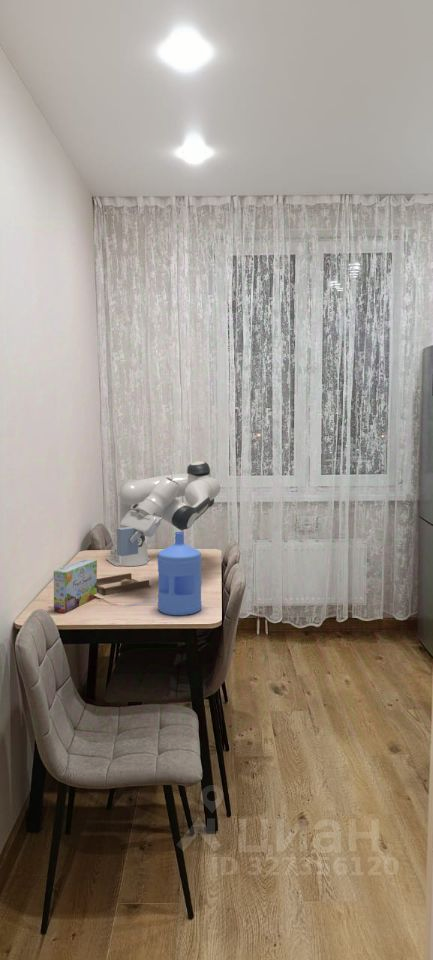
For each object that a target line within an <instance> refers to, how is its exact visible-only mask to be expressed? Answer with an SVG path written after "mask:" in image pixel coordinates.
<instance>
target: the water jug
mask: <svg viewBox="0 0 433 960" xmlns="http://www.w3.org/2000/svg"><path fill="white" fill-rule="evenodd" d="M174 534H175V537H174V540H175V541H174V544H171V545H169V546H168V547H166V548H163V549H162V550H160V551H159V552H158V554H157V572H158V591H157V595H158V601H157V609H158V610H159V612H161V613H162V614H164V615H169V616H187V615H188V614H190V615H192V614H193V613H194V614H197V612H200V610H201V609H202V553H201V551H200V550H198V549H196V548H194V547H192V546H190V545H187V544H185V541H184V540H185V539H184V538H185V537H184V535H185V532H182V531H176V532H174Z"/></svg>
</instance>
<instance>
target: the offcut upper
mask: <svg viewBox="0 0 433 960" xmlns="http://www.w3.org/2000/svg"><path fill="white" fill-rule="evenodd" d="M135 580H136V579H135ZM135 580H129V579H124V580H122V581H121V582H120V584H121V585H124V584H130V583H135V582H137V581H138V580H137V581H135Z"/></svg>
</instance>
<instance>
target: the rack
mask: <svg viewBox="0 0 433 960" xmlns="http://www.w3.org/2000/svg"><path fill="white" fill-rule="evenodd" d="M124 579H129V580H135V581H137V582H135V583H130V584H124V585H114V586H109V587H104V586H105V585H110V584H116V583H121V581H122V580H124ZM150 587H152V586H151V585H150V580H149V579H147V580H141V581H139V580H137V579H135V578H132V573H131V572H128V573H123V574H117V575H112V576H111V575H110V576H107V577H100V578H97V594H99V595H102V596H110V595H114V594H119V593H124V592H129V591H130V592H131V591H135V590H140V589H141V590H142V589H145V588H150ZM101 599H102V600H104V598H101Z"/></svg>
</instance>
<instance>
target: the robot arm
mask: <svg viewBox="0 0 433 960" xmlns="http://www.w3.org/2000/svg"><path fill="white" fill-rule="evenodd" d="M220 492H221V485H220V482H219V481H218V479H216V478H214V477H213V476H212V474H211V467H210V466H209V464H208V463H207V462H206V461H202V460H197V461H194V462H192V463H189V464H188V466H187V469H186V473H172V474H166V475H165V474H164V475H159V476H153V477H149V478H144V479H139V480H137V479H135V478H130V479H129V478H128V479H126V480H125V481H123V482H122V483H121V484H120V487H119V495H118V496H119V528H124V527H132V528H134V529H135V530H137V531H136V532H135V534H134V535H133V536H131V537H130V538H129V541H130V542H131V543H134V541H135V540H136V539H138V554H133V555H127V556H120V555H117V542H116V543H115V544H114V545H113V546H112V547H111V549H110V551H109V552H110V556H106V557H105V559H107V560H108V561H107V560H106V561H107V562H109V563H110V564H112V565H113V566H117V567H120V566H123V567H135V566H136V567H140V566H143V565H146V564H148V563H149V562H150V561H151V558H150V557H149V554H148V552H149V551H148V543H146V542H145V541H146V537H148V538H151V537H152V536H154V535H155V533H156V531H158V529H159V527H160V525H161V521H162V520H164V521H166V522H167V523H169V524H171V525H172V526H174V527H175V528H176V529H178V530H180V531H185V530H187V529H189V528H190V527H192V525H193V524H194V523H195V522H196V520H198V519H199V518H200V517H201V516H202V515H204V514H205V512H206V511H207V510H208V509H209V508H211V507H212V506H213V505H214V503H215V498H216V497H217V496H218V495H219V494H220ZM179 497H184V498H185V501H186V502H187V504H186V503H184V502H182V501H181V500H179V499H177V498H179Z"/></svg>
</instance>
